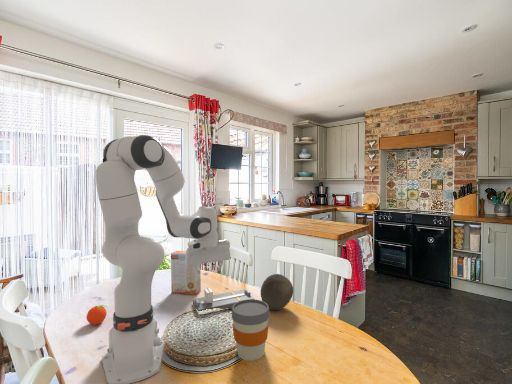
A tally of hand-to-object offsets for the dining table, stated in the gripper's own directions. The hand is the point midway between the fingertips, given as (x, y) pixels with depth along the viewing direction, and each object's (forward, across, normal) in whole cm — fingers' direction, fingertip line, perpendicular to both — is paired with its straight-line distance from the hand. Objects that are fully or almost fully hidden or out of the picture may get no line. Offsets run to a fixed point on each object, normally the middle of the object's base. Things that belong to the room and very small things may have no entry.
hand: (208, 272), depth 121 cm
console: (+16, -6, 0) cm, 17 cm away
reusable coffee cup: (+16, -4, +38) cm, 42 cm away
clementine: (+16, +44, -6) cm, 47 cm away
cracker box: (+16, +6, -22) cm, 28 cm away
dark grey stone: (+16, -26, +15) cm, 35 cm away
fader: (+13, 0, 0) cm, 13 cm away
